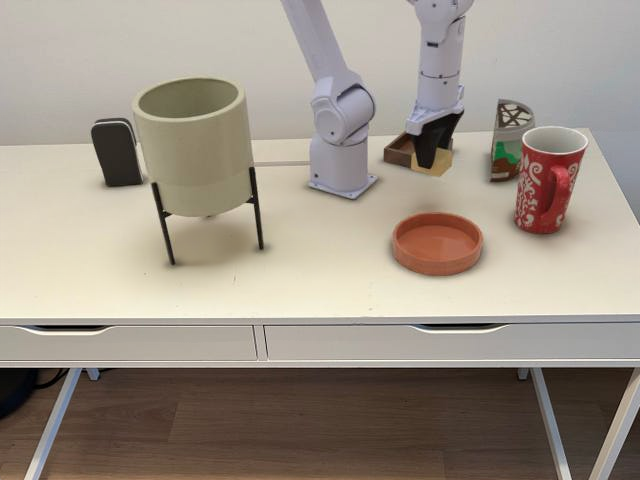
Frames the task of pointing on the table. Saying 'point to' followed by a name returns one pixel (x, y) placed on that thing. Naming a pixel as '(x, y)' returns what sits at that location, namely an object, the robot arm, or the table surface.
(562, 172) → the mug
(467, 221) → the bowl
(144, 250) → the table surface
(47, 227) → the table surface
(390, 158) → the holder
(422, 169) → the block
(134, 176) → the battery charger
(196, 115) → the planter
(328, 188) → the robot arm
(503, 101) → the food container
